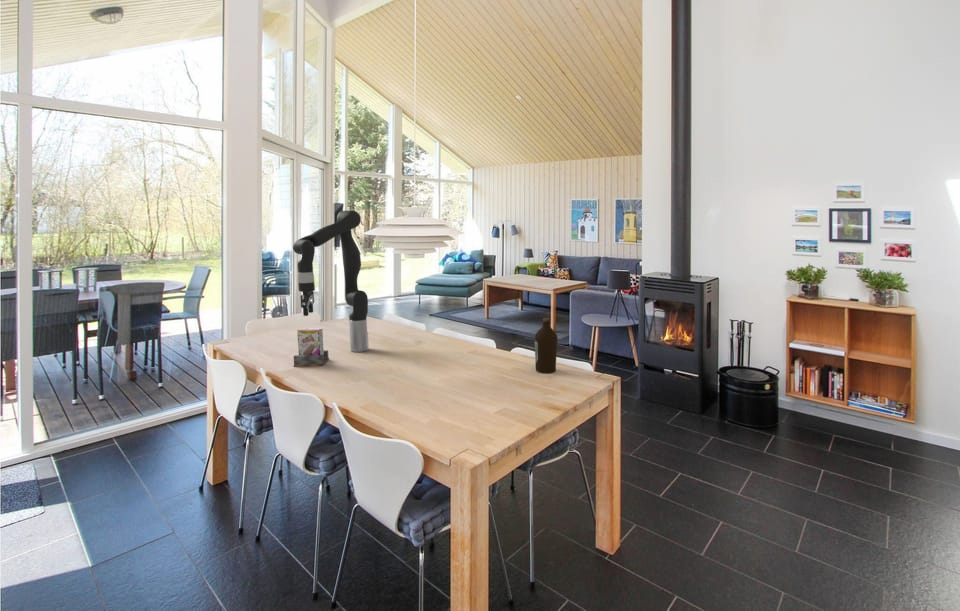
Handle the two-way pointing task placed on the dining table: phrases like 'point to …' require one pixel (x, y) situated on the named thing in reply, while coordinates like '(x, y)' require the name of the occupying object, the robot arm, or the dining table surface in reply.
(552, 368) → the olive oil
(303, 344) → the candy bar box
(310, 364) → the rail holder
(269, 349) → the dining table surface
